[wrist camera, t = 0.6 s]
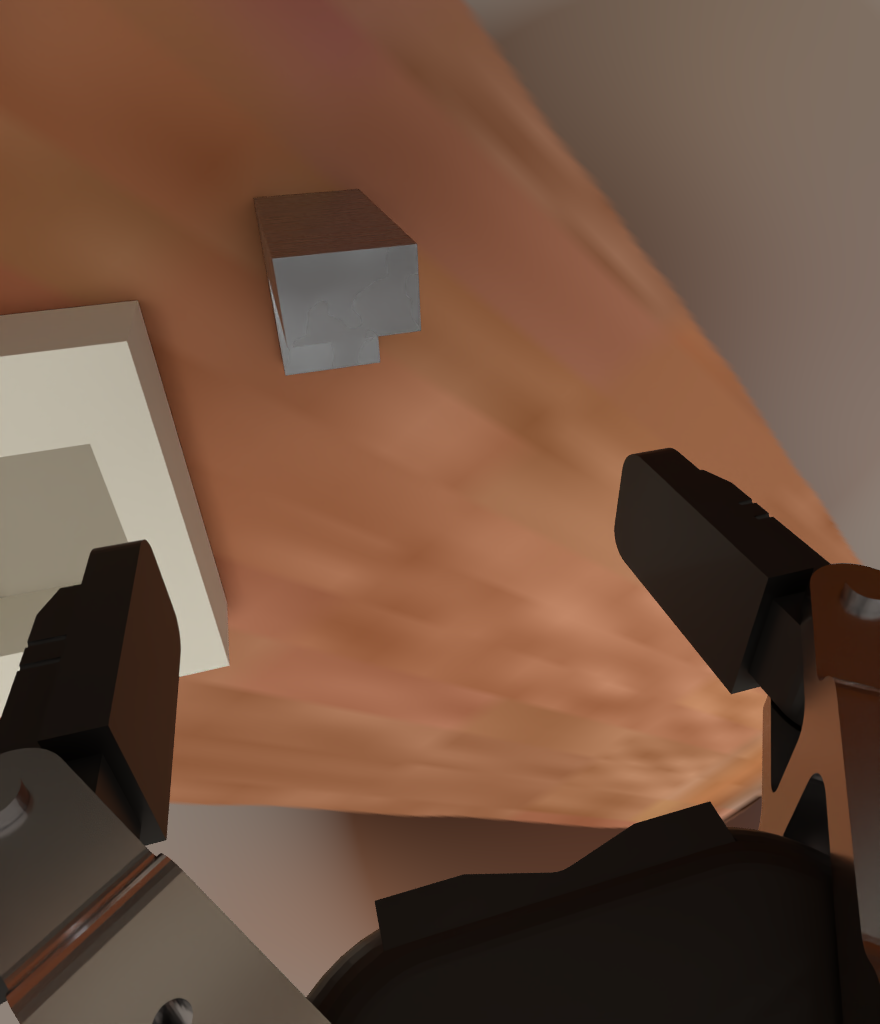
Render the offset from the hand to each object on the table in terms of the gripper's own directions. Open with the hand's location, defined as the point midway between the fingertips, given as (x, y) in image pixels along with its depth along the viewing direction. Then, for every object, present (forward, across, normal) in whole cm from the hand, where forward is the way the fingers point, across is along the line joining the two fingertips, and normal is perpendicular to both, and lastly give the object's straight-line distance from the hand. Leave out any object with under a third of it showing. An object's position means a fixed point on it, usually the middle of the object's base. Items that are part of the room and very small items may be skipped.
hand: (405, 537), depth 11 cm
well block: (+19, +12, +9) cm, 24 cm away
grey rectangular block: (+19, -1, +1) cm, 19 cm away
